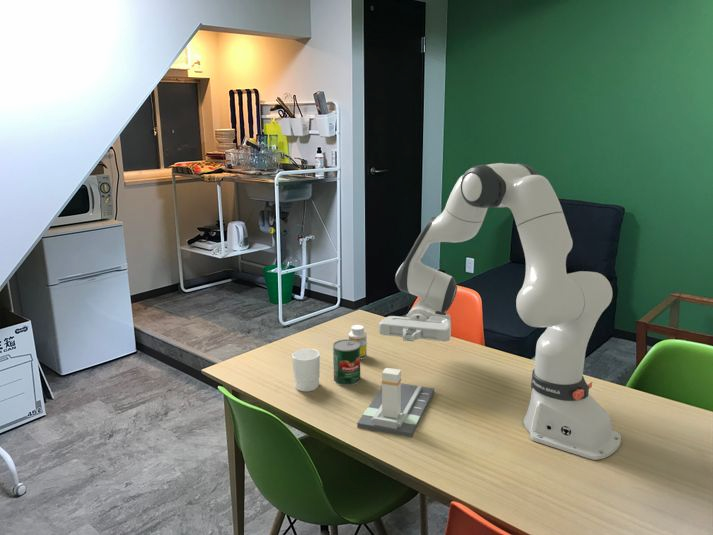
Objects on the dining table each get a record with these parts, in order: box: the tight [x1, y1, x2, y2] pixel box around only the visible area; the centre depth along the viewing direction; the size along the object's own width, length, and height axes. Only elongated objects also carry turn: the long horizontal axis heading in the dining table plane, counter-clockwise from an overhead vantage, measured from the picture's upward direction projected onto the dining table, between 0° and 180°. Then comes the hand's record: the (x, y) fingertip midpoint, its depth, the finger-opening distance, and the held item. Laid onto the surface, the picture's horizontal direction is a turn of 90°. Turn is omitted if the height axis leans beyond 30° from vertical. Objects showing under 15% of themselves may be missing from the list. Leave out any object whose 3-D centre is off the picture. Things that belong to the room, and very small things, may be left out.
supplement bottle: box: [348, 324, 368, 360], centre depth 183 cm, size 6×6×10 cm
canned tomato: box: [332, 338, 361, 386], centre depth 168 cm, size 8×8×11 cm
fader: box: [381, 367, 402, 418], centre depth 145 cm, size 4×3×12 cm
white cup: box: [291, 348, 321, 392], centre depth 164 cm, size 8×8×10 cm
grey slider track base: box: [356, 382, 435, 438], centre depth 152 cm, size 14×24×3 cm, turn 160°
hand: (408, 338), depth 155 cm, fingers closed
